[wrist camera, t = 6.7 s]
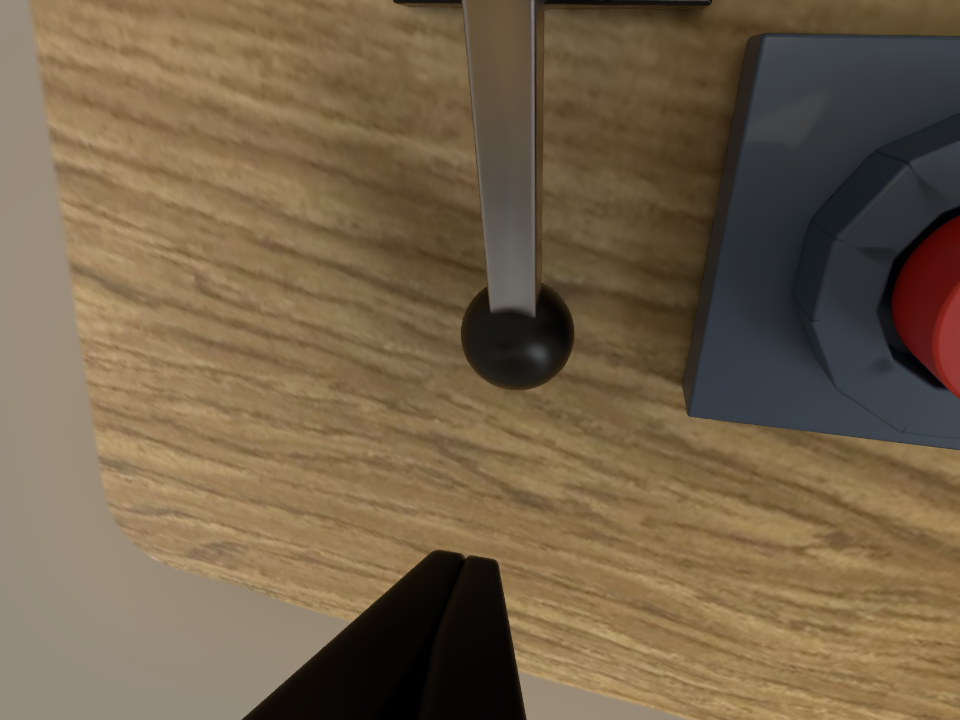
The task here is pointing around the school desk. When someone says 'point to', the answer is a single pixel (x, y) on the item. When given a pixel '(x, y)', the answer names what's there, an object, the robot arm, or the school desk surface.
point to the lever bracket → (583, 4)
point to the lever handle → (511, 200)
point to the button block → (828, 237)
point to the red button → (932, 304)
